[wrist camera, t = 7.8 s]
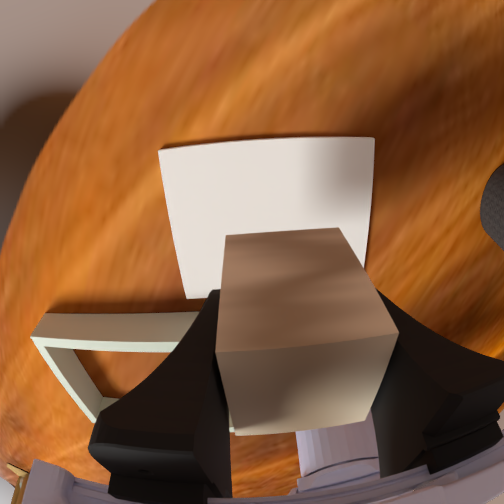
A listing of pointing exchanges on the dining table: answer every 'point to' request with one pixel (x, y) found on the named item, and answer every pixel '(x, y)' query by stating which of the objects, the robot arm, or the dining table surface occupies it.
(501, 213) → the coffee cup
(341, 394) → the ash block
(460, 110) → the dining table surface
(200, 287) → the white mat
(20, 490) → the hourglass
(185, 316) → the pale grey-green open frame
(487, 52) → the dining table surface
